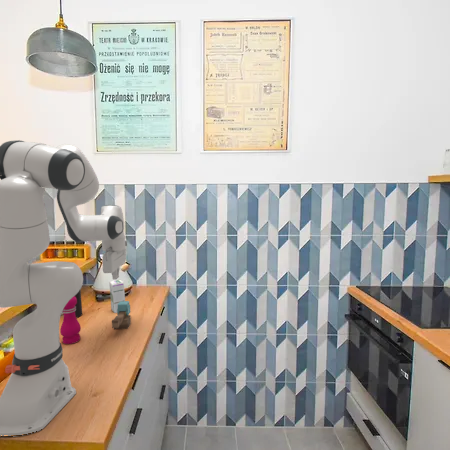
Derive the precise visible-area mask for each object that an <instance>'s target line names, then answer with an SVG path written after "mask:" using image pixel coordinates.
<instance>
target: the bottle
mask: <svg viewBox="0 0 450 450" xmlns="http://www.w3.org/2000/svg"><path fill="white" fill-rule="evenodd" d="M81 289H82V288H81ZM81 289H80V290H79V292H78V293H77V294H76V295H75V297H76V299H77V303H76V305H75V306H76V311H75V315H76V318H77V319H78V318H80V317H82V315H83V304H82V291H81Z"/></svg>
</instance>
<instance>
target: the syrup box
mask: <svg viewBox="0 0 450 450" xmlns="http://www.w3.org/2000/svg"><path fill="white" fill-rule="evenodd" d="M108 283H109V295H110V296H109V297H110V308H111V311H112V312H113V313H114V314H116V313H117V309H118V304H119V302H120V301H126V295H125V294H126V293H125V282H124V281H122V280H121V279H116V280H112V281H109V282H108Z"/></svg>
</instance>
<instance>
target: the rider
mask: <svg viewBox="0 0 450 450" xmlns="http://www.w3.org/2000/svg"><path fill="white" fill-rule="evenodd" d="M120 311H126V316H127V315H130V314H131V304H130V301H129V300H125V301H120V302H119V304H118V309H117V315H118V314H119V313H120ZM117 315H116V316H117Z"/></svg>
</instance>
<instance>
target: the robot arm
mask: <svg viewBox="0 0 450 450" xmlns="http://www.w3.org/2000/svg"><path fill="white" fill-rule="evenodd" d="M46 189H56V190H57V192H56V202H57V204H58V208H59V210H60V212H61V213H60V214H61V215H62V218H63V220H64V223H65V226H66V231H67V235H68V236H69V238H70V240H71V239H72V240H73V242H75V243H82V242H84V243H85V242H101V248H102V249H101V250H102V251H103V252H104V253H103V254H102V271H103V274H111V275H112V276H111V277H112V281H115V280H118V279H119V278H120V269H121V266H122V265H124V264H125V263H126V259H127V247H128V242H127V240H126V237H125V232H124V229H125V221H124V219H125V218H124V213H123V210H122V207H121V206H119V205H115V204H108V205H107V204H106V205H102V206H101V208H100V209H101V210H100V214H91V215H90V214H89V215H85V214H80V213H79V211H78V206H81V205H82V206H83V205H84V204H87V203H89V202H90V201H92V200H93V199H94V198H95V197H96V195H97V194H98V192H99V189H100V183H99V179H98V176H97V174H96V172H95V170H94V168H93V166H92V164H91V163H90V160H88V158H87V157H86V155H85V154H84V153H83V152H82V150H81V149H80V148H78V147H77V146H75V145H74V144H73V145H72V144H66V143H64V144H61V145H58V146H54V145H53V146H52V145H48V144H45V143H41V142H33V141H24V140H20V139H19V140H9V141H5V142H3V143H1V145H0V308H3V309H6V308H12V307H18V306H25V305H26V306H27V305H31V304H33V305H36V309H35V310H34V311H32V312H30V313H29V314H26V315H25V316H23V317H22V318H21V319H20V320H18V321H17V323H16V324H15V325H14V327H13V330H12V337H13V348H14V353H13V359H12V362H11V364H7V365H6V367H5V369H4V370H5V371H4V373H6V374H10V373H11V374H10V376H9V378H8V380H7V382H6V385H5V387H4V389H3V391H2V393H1V395H0V436H1V435H2V436H4V435H8V436H11V435H22V434H27V435H29V434H28V433H31V434H33V433H32V432H34V433H36V431H37V432H39V431H42V430H43V429H45V427H46V426H47V425H48V424H49V423H50V422H51V421H52V420H53V419H54V418H55V417H56V416H57V415H58V413H60V411H61V410H63V408H64V407H65V406H66V405H67V404H68V403H69V402H70V401H71V399H73V398H74V397H75V395H77V391H76V388H75V387H74V386H72V383H71V378H70V377H71V376H70V371H69V366H68V365H67V364H66V363H65V361H64V359H63V351H64V350H63V346H62V342H60V322H61V321H60V320H61V315H62V314H63V313H62V311H63V309H64V307H65V305H66V304H67V303H68V302H69V300H70V299H71V298H72V297H74V296H75V295H76V294H77V293H78V292H79V290H80V289H82V286H83V284H84V275H83V271H82V269H81V268H80V267H79V265H78V264H76V263H75V262H72V261H71V262H70V261H47V262H37V263H29V261H31V260H33V259H36V258H38V257H39V256H40V255H43V253H44V252H45V251H46V250H47V249H48V248H49V246H50V243H51V240H50V232H49V231H50V230H49V221H48V213H47V209H46V204H45V200H44V193H45V190H46ZM41 429H42V430H41ZM22 436H23V435H22Z"/></svg>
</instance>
